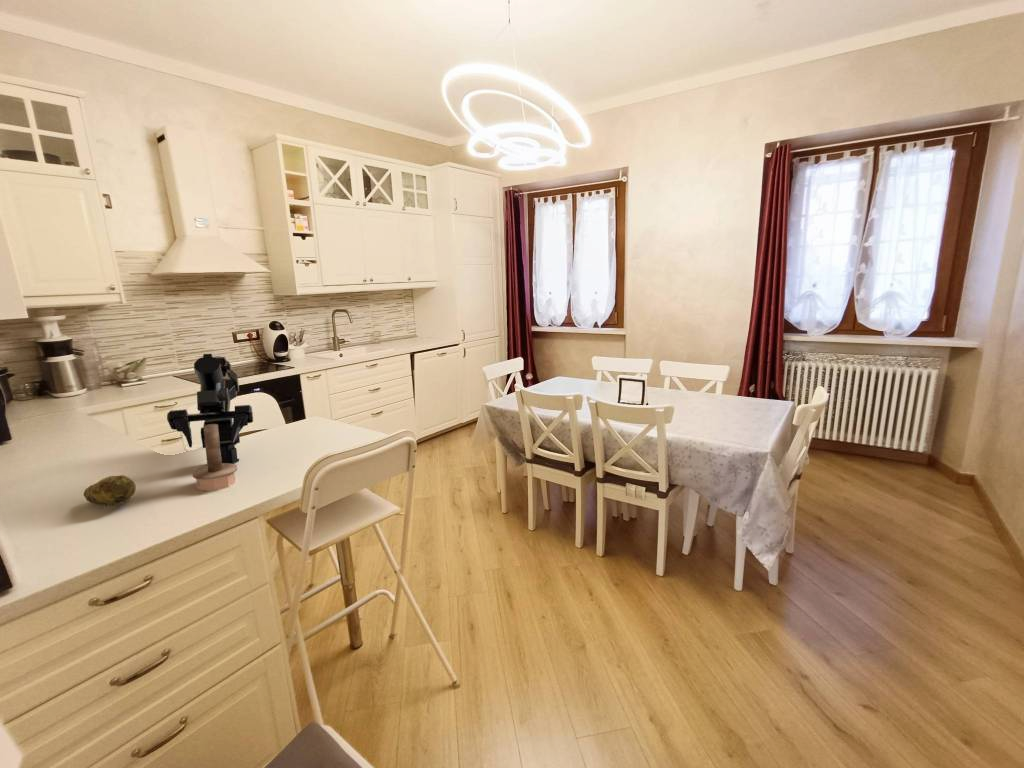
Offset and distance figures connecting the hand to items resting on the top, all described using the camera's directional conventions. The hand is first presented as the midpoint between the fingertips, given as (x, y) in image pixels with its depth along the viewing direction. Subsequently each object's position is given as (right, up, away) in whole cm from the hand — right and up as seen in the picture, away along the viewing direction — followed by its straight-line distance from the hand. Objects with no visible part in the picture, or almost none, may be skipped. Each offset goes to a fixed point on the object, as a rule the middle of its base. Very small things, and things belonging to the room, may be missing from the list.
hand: (211, 444), depth 116 cm
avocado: (-17, -13, -10) cm, 24 cm away
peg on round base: (-1, -8, +3) cm, 8 cm away
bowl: (-1, -11, +3) cm, 12 cm away
